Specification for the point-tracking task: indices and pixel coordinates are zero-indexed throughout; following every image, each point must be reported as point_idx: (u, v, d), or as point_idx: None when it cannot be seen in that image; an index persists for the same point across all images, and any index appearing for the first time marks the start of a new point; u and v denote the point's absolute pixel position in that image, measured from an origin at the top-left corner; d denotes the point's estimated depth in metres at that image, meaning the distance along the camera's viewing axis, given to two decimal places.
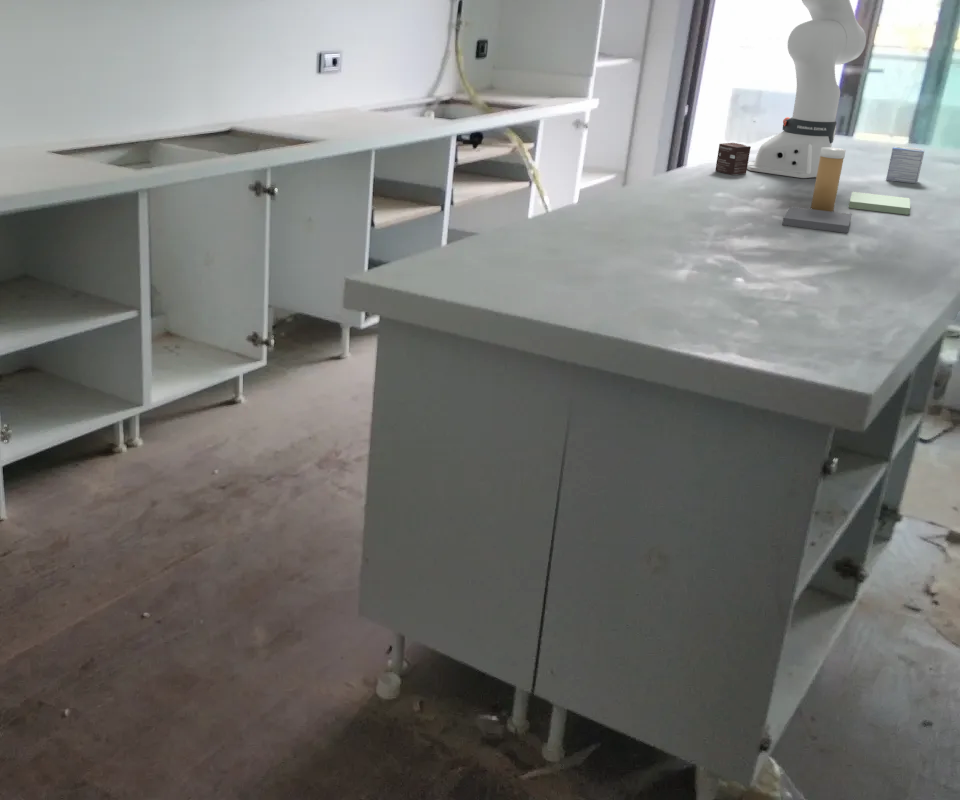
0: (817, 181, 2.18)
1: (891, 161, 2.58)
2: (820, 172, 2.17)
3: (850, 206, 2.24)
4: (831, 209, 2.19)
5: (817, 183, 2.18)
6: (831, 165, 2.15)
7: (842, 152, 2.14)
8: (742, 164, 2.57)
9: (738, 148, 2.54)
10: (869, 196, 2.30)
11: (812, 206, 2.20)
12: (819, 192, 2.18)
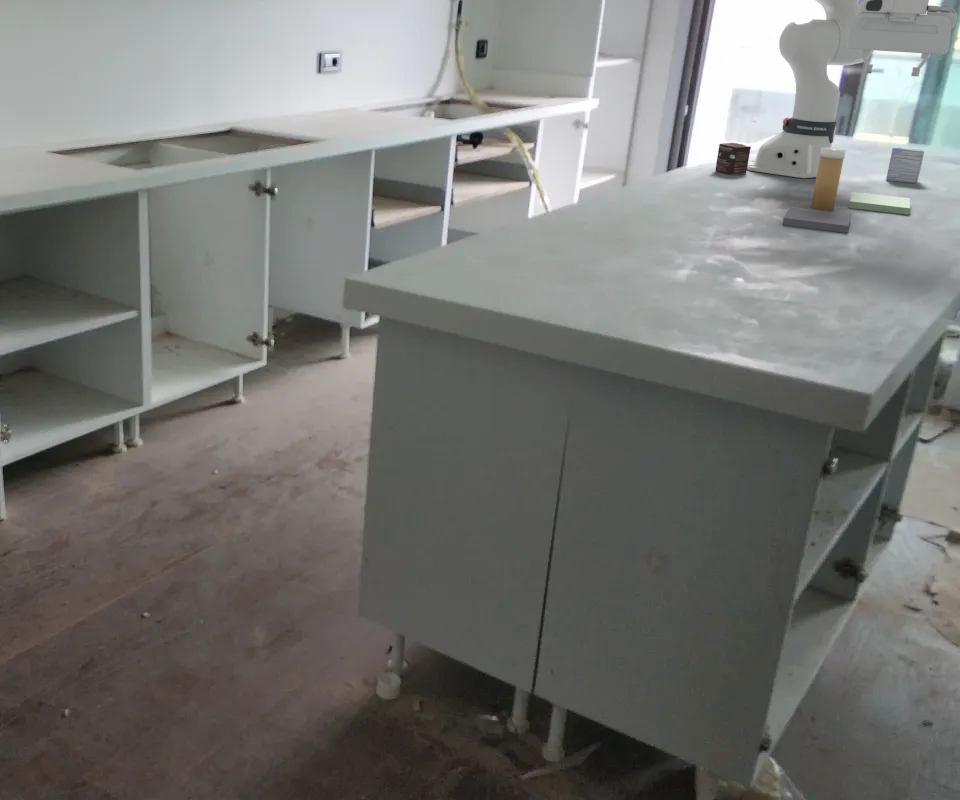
0: (817, 181, 2.18)
1: (891, 161, 2.58)
2: (820, 172, 2.17)
3: (850, 206, 2.24)
4: (831, 209, 2.19)
5: (817, 183, 2.18)
6: (831, 165, 2.15)
7: (842, 152, 2.14)
8: (742, 164, 2.57)
9: (738, 148, 2.54)
10: (869, 196, 2.30)
11: (812, 206, 2.20)
12: (819, 192, 2.18)
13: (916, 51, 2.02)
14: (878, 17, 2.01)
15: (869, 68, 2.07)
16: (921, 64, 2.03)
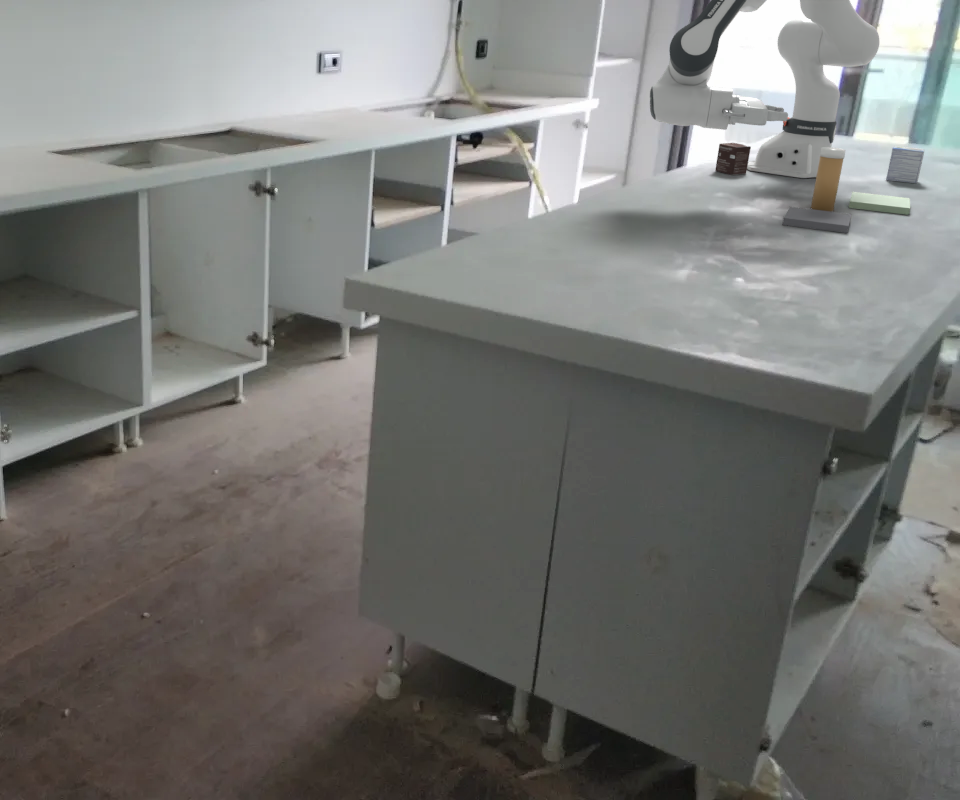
0: (817, 181, 2.18)
1: (891, 161, 2.58)
2: (820, 172, 2.17)
3: (850, 206, 2.24)
4: (831, 209, 2.19)
5: (817, 183, 2.18)
6: (831, 165, 2.15)
7: (842, 152, 2.14)
8: (742, 164, 2.57)
9: (738, 148, 2.54)
10: (869, 196, 2.30)
11: (812, 206, 2.20)
12: (819, 192, 2.18)
13: None
14: None
15: None
16: (775, 120, 2.11)
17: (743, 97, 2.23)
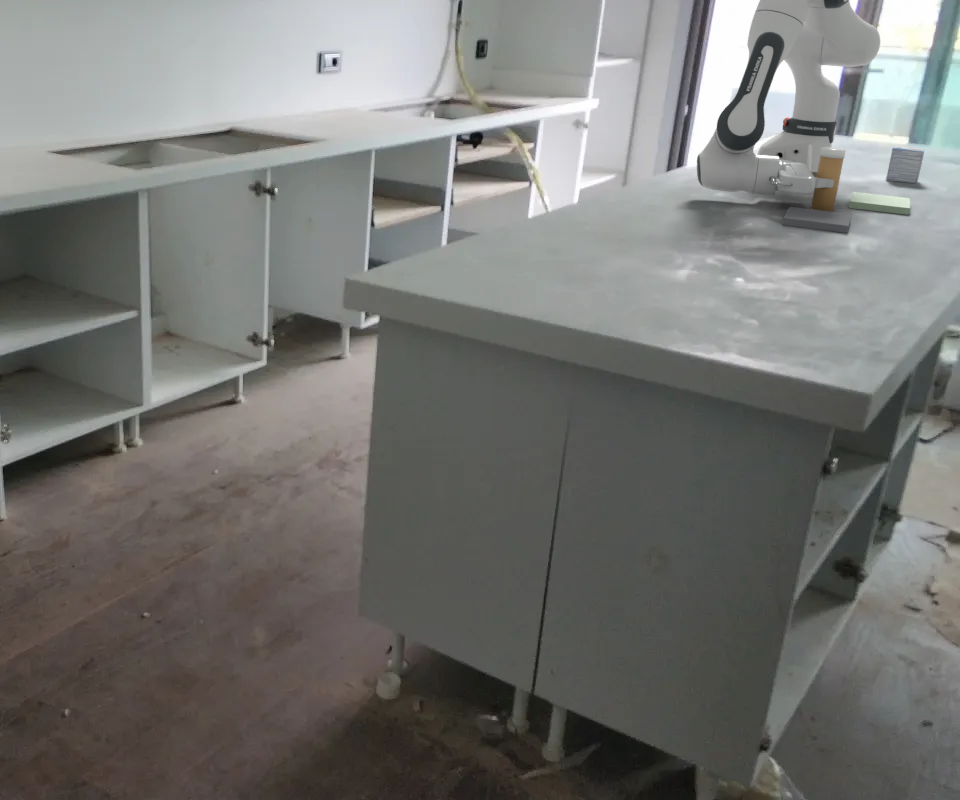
0: None
1: (891, 161, 2.58)
2: (820, 172, 2.17)
3: (850, 206, 2.24)
4: (831, 209, 2.19)
5: None
6: (831, 165, 2.15)
7: (842, 152, 2.14)
8: None
9: None
10: (869, 196, 2.30)
11: (812, 206, 2.20)
12: (819, 192, 2.18)
13: None
14: None
15: None
16: None
17: (789, 162, 2.26)
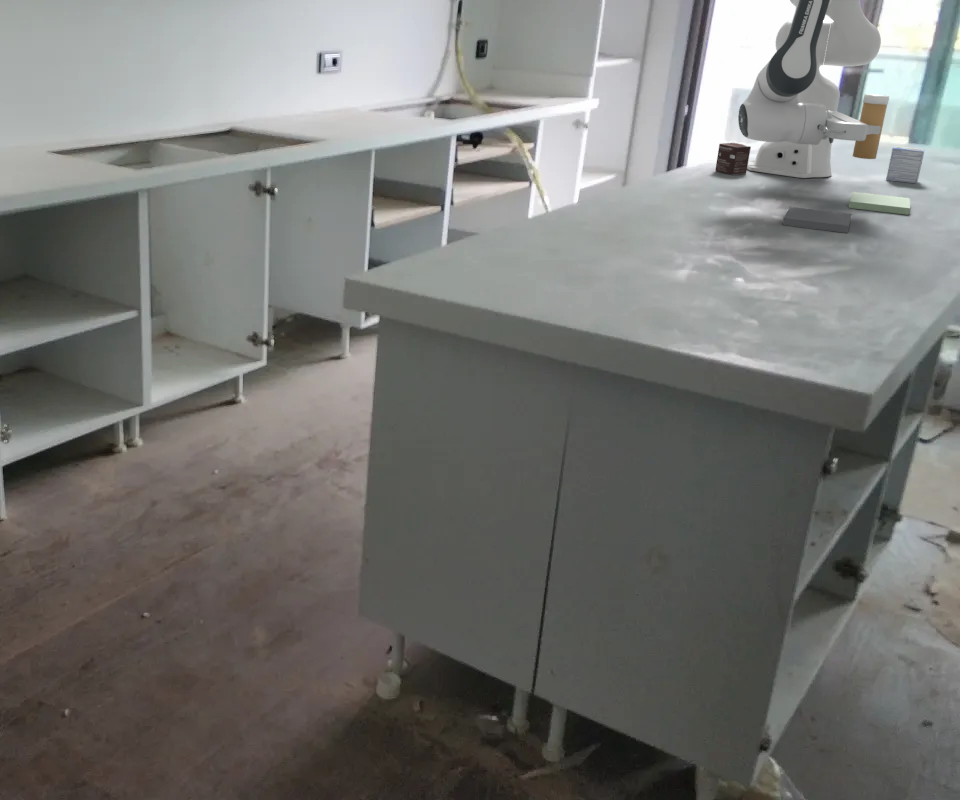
0: None
1: (891, 161, 2.58)
2: (864, 119, 2.15)
3: (850, 206, 2.24)
4: (875, 157, 2.18)
5: None
6: (877, 111, 2.13)
7: (887, 98, 2.12)
8: (742, 164, 2.57)
9: (738, 148, 2.54)
10: (869, 196, 2.30)
11: (855, 154, 2.18)
12: None
13: None
14: None
15: None
16: None
17: None
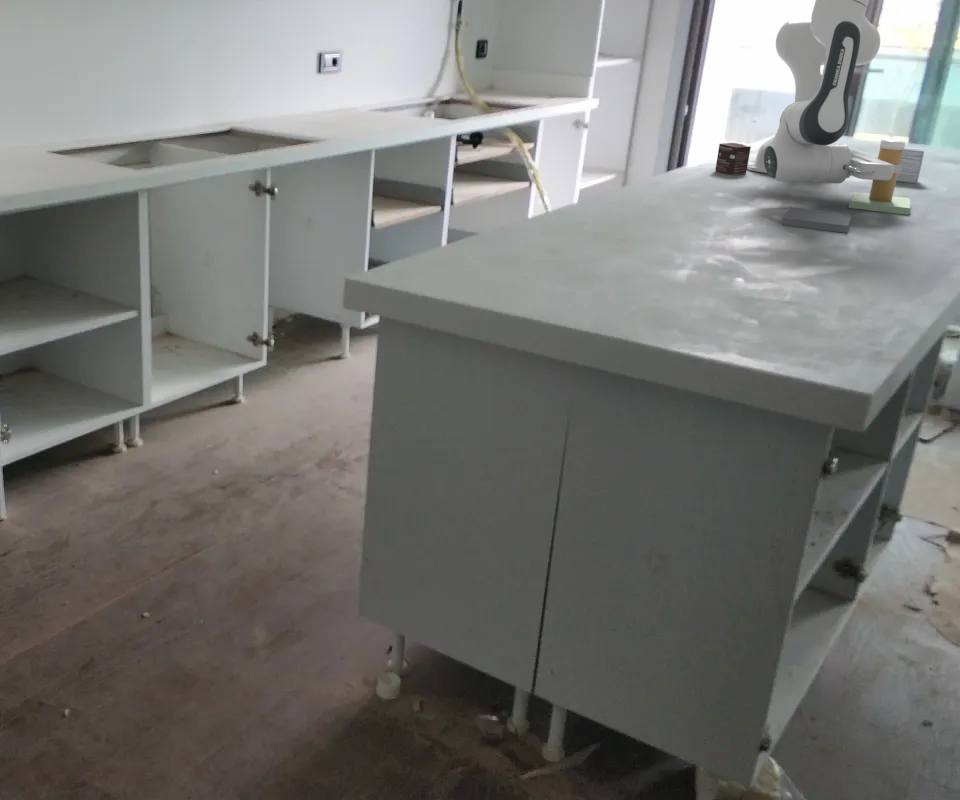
0: None
1: None
2: None
3: (850, 206, 2.24)
4: (891, 199, 2.25)
5: None
6: (895, 157, 2.20)
7: (904, 144, 2.20)
8: (742, 164, 2.57)
9: (738, 148, 2.54)
10: None
11: (873, 197, 2.25)
12: (882, 183, 2.23)
13: None
14: None
15: None
16: None
17: None
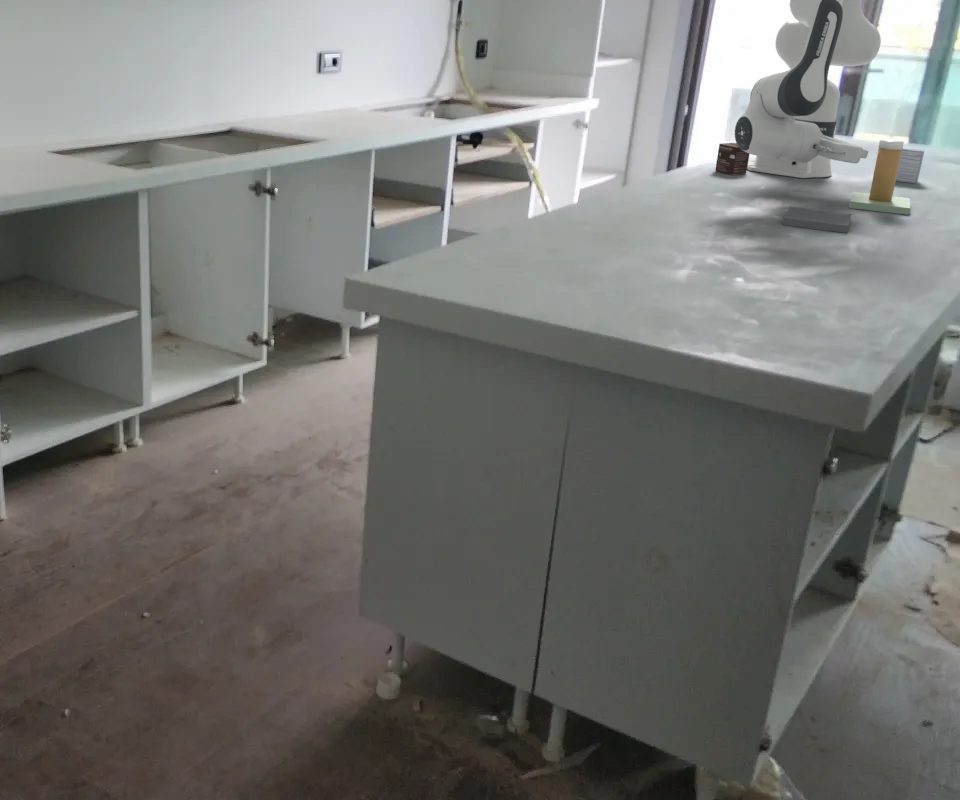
0: (878, 173, 2.23)
1: None
2: (881, 164, 2.22)
3: (850, 206, 2.24)
4: (891, 199, 2.25)
5: (878, 175, 2.23)
6: (894, 157, 2.20)
7: (903, 143, 2.20)
8: (742, 164, 2.57)
9: (738, 148, 2.54)
10: None
11: (873, 197, 2.26)
12: (881, 183, 2.23)
13: None
14: None
15: None
16: None
17: None
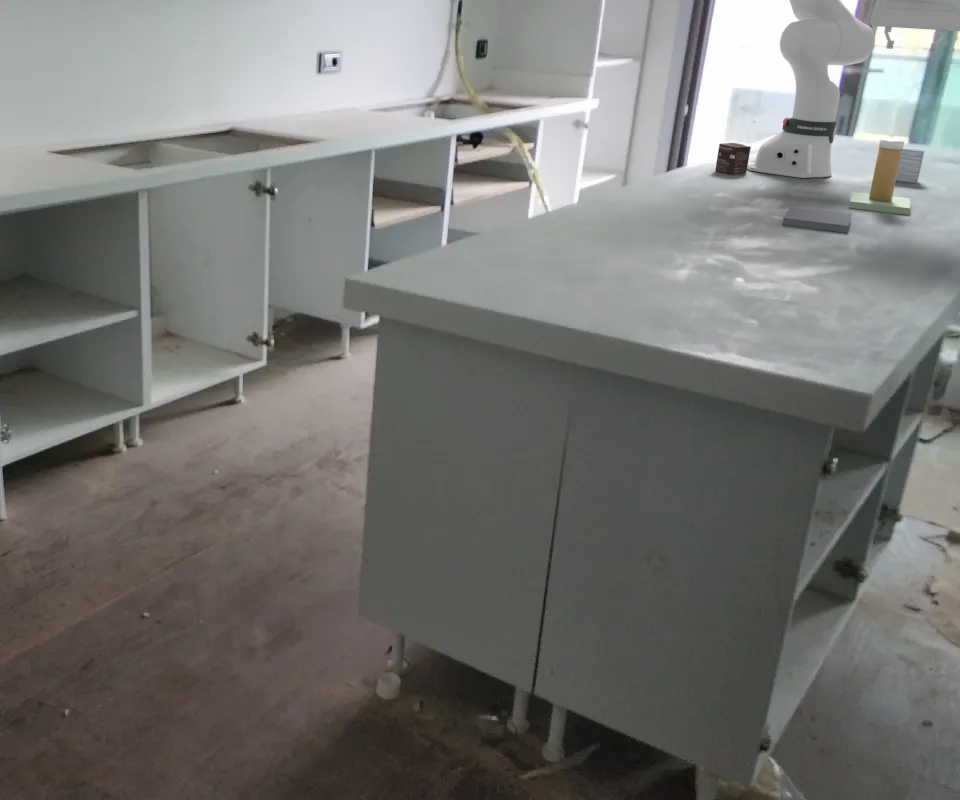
0: (878, 172, 2.23)
1: None
2: (882, 164, 2.22)
3: (850, 206, 2.24)
4: (891, 199, 2.25)
5: (878, 174, 2.23)
6: (894, 156, 2.21)
7: (903, 143, 2.20)
8: (742, 164, 2.57)
9: (738, 148, 2.54)
10: None
11: (873, 197, 2.26)
12: (881, 183, 2.23)
13: (935, 28, 2.19)
14: None
15: (891, 44, 2.24)
16: (939, 40, 2.20)
17: None
